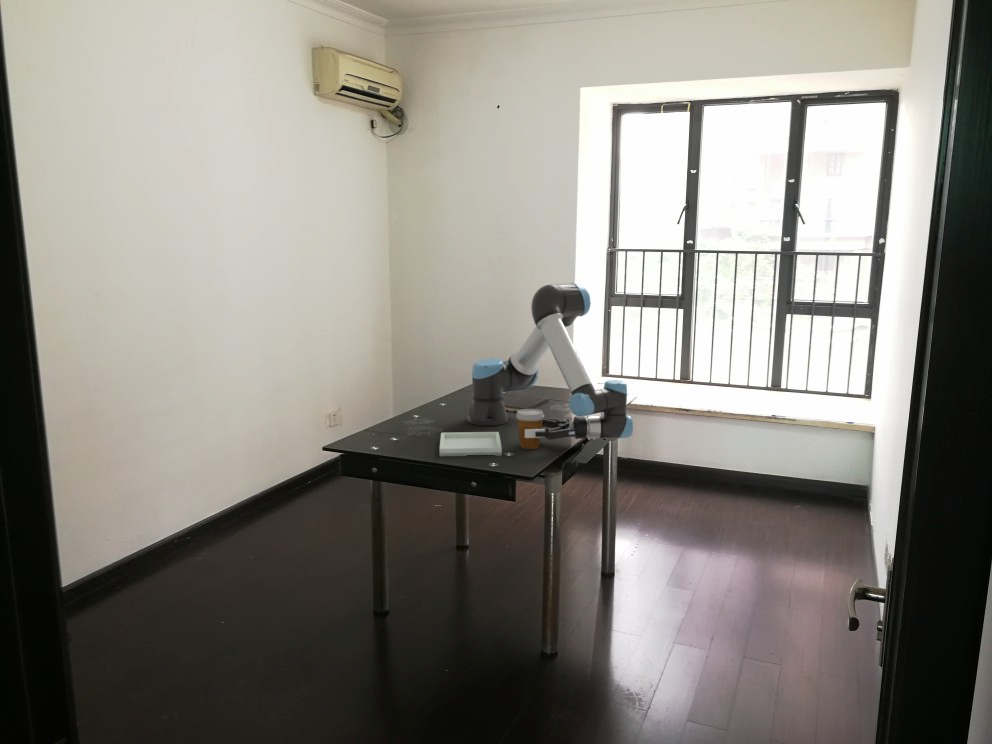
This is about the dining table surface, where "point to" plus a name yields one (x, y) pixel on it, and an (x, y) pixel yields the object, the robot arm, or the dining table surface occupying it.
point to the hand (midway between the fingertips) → (522, 428)
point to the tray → (470, 443)
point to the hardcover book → (523, 402)
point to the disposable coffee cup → (529, 426)
